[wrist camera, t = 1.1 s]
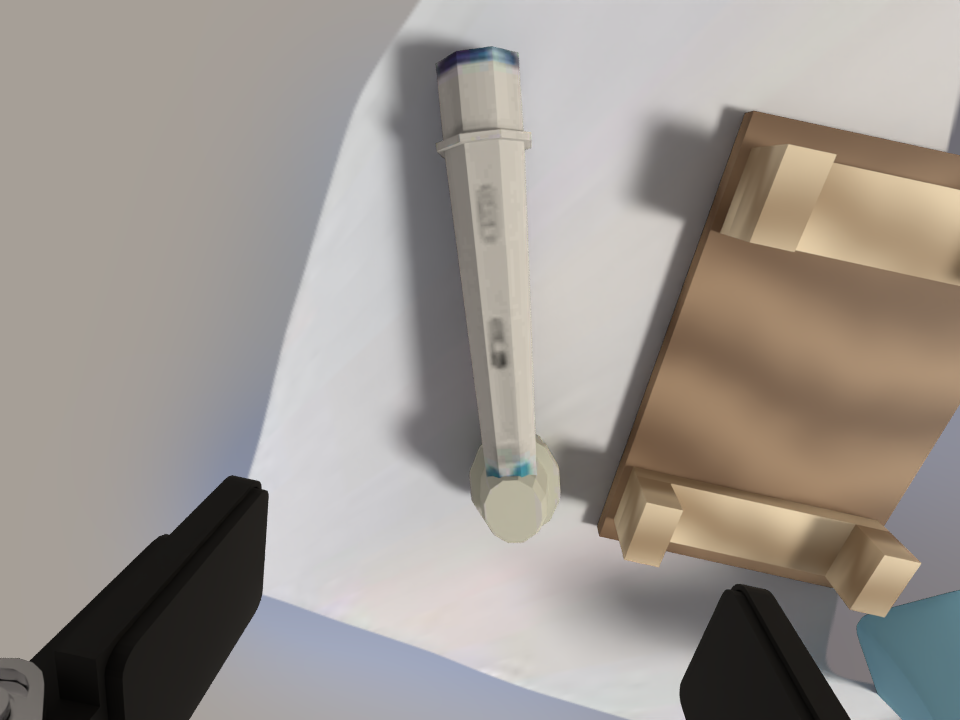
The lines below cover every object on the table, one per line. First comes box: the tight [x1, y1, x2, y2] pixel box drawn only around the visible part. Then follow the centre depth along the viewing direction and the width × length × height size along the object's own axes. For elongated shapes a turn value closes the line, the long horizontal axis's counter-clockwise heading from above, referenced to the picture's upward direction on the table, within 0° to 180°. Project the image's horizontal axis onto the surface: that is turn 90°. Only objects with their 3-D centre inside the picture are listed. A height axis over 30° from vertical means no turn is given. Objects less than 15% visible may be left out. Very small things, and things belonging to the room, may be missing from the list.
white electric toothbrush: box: [436, 46, 561, 543], centre depth 27 cm, size 5×7×25 cm
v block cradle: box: [597, 111, 960, 617], centre depth 26 cm, size 25×16×4 cm, turn 169°
